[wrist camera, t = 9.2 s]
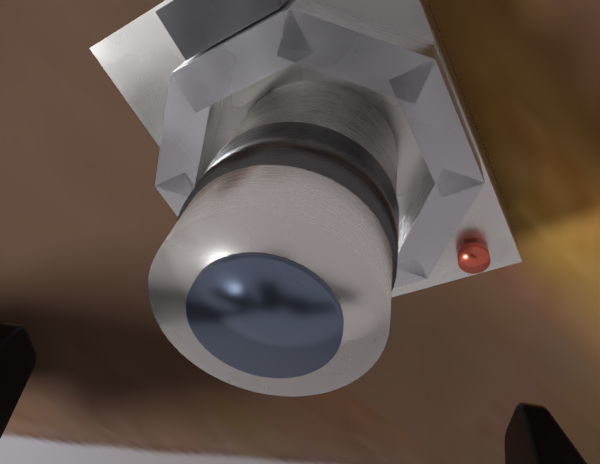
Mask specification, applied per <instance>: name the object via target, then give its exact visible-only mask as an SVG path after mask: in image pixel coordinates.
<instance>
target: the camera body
mask: <svg viewBox="0 0 600 464" xmlns="http://www.w3.org/2000/svg"><path fill="white" fill-rule="evenodd" d="M90 50H91V51H92V53H93V54H94V55H95V57H96V58H97V60H98V61H99V62H100V64H101V65H102V67H103V68H104V69H105V71H106V72H107V74H108V75H109V77H110V78H111V79H112V81H113V82H114V84H115V85H116V86H117V88H118V89H119V91H120V92H121V93H122V95H123V96H124V98H125V99H126V100H127V102H128V103H129V105H130V106H131V107H132V109H133V110H134V112H135V113H136V115H137V116H138V117H139V119H140V120H141V122H142V123H143V124H144V126H145V127H146V129H147V130H148V131H149V133H150V134H151V136H152V137H153V138H154V140H155V141H156V143H157V144H158V145H159V147H160V153H159V160H158V167H157V174H156V182H155V187H156V188H157V190H158V191H159V192H160V194H161V195H162V196H163V198H164V199H165V200H166V202H167V203H168V204H169V206H170V207H171V208H172V210H173V211H174V212H175V214H176V215H177V216H179V213H180V210H181V208H182V206H183V204H184V202H185V201H186V199H187V198H188V196H189V195H190V193H191V192H192V190H193V189H194V187H195V186H196V184H197V183H198V181H199V180H200V178H201V177H202V175H203V174H204V172H205V171H206V169H207V168H208V166H209V165H210V164H211V162H212V161H213V159H214V158H215V156H216V155H217V154H218V152H219V151H220V150H221V149H222V148H223V147H224V146H225V145H226V144H227V143H228V142H230V140H231V139H232V137H233V136H234V134H235V133H236V131H237V130H238V128H239V127H240V125H241V124H242V122H243V121H244V119H245V118H246V116H247V115H248V113H249V112H250V110H251V109H252V108H253V106H254V105H255V104H256V103H257V102H258V101H259V100H260V99H261V98H263V97H264V96H265V95H267V94H268V93H270V92H271V91H273V90H275V89H277V88H279V87H282V86H284V85H287V84H291V83H295V82H300V81H324V82H331V83H335V84H338V85H342V86H344V87H347V88H349V89H351V90H353V91H355V92H357V93H359V94H360V95H362V96H363V97H365V98H366V99H367V100H369V101H370V102H371V103H372V104H373V105H374V106H375V107H376V108H377V109H378V110H379V111H380V112H381V113H382V115H383V116H384V118H385V119H386V120H387V122H388V124H389V126H390V128H391V130H392V132H393V135H394V138H395V141H396V146H397V152H398V169H397V189H396V197H397V201H398V206H399V236H398V263H397V275H396V280H395V284H394V287H393V290H392V293H391V297H395V296H399V295H402V294H406V293H410V292H413V291H417V290H421V289H424V288H428V287H431V286H435V285H439V284H442V283H446V282H450V281H453V280H457V279H461V278H464V277H468V276H472V275H475V274H479V273H482V272H486V271H490V270H493V269H497V268H501V267H504V266H508V265H512V264H515V263H519V262H522V260H521V256H520V252H519V249H518V245H517V241H516V237H515V234H514V230H513V226H512V223H511V219H510V215H509V212H508V209H507V206H506V204H505V201H504V199H503V196H502V193H501V191H500V188H499V186H498V183H497V180H496V178H495V175H494V173H493V170H492V168H491V165H490V162H489V160H488V157H487V155H486V152H485V149H484V147H483V144H482V142H481V139H480V136H479V134H478V131H477V129H476V126H475V124H474V121H473V118H472V116H471V113H470V111H469V108H468V105H467V103H466V100H465V98H464V95H463V92H462V90H461V87H460V85H459V82H458V80H457V77H456V74H455V72H454V69H453V67H452V64H451V61H450V59H449V56H448V54H447V51H446V48H445V46H444V43H443V41H442V38H441V36H440V33H439V30H438V28H437V25H436V23H435V20H434V17H433V15H432V12H431V10H430V7H429V4H428V2H427V0H165V1H164V2H162V3H161V4H159V5H157V6H156V7H154V8H153V9H151V10H150V11H148V12H146V13H145V14H143V15H142V16H140V17H138V18H137V19H135V20H134V21H132V22H130V23H129V24H127V25H126V26H124V27H123V28H121V29H119V30H118V31H116V32H115V33H113V34H111V35H110V36H108V37H107V38H105V39H104V40H102V41H100V42H99V43H97V44H96V45H94V46H92V47H91V48H90Z"/></svg>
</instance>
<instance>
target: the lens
mask: <svg viewBox="0 0 600 464" xmlns="http://www.w3.org/2000/svg"><path fill="white" fill-rule="evenodd" d="M397 169H398V152H397V146H396V141H395V138H394V135H393V132H392V130H391V128H390V126H389V124H388V122H387V120H386V119H385V118H384V116H383V115H382V113H381V112H380V111H379V110H378V109H377V108H376V107H375V106H374V105H373V104H372V103H371V102H370V101H369V100H367V99H366V98H365V97H363V96H362V95H360V94H359V93H357V92H355V91H353V90H351V89H349V88H347V87H344V86H342V85H338V84H335V83H331V82H324V81H300V82H295V83H291V84H287V85H284V86H282V87H279V88H277V89H275V90H273V91H271V92H270V93H268V94H267V95H265V96H264V97H263V98H261V99H260V100H259V101H258V102H257V103H256V104H255V105H254V106H253V108H252V109H251V110H250V112H249V113H248V115H247V116H246V118H245V119H244V121H243V122H242V124H241V125H240V127H239V128H238V130H237V131H236V133H235V134H234V136H233V137H232V139H231V140H230V142H228V143H227V144H226V145H225V146H224V147H223V148H222V149H221V150H220V151H219V152H218V154H217V155H216V156H215V158H214V159H213V161H212V162H211V164H210V165H209V166H208V168H207V169H206V171H205V172H204V174H203V175H202V177H201V178H200V180H199V181H198V183H197V184H196V186H195V187H194V189H193V190H192V192H191V193H190V195H189V196H188V198H187V199H186V201H185V202H184V204H183V206H182V208H181V210H180V213H179V216H178V219H177V223H176V224H175V226H174V227H173V229H172V230H171V232H170V233H169V235H168V237H167V238H166V240H165V241H164V243H163V244H162V246H161V247H160V249H159V250H158V252H157V254H156V256H155V258H154V260H153V262H152V264H151V268H150V272H149V278H148V294H149V301H150V305H151V309H152V311H153V314H154V316H155V319H156V321H157V323H158V325H159V326H160V328H161V330H162V331H163V333H164V334H165V336H166V337H167V338H168V340H169V341H170V342H171V343H172V344H173V345H174V347H175V348H176V349H177V350H178V351H179V352H180V353H181V354H182V355H184V356H185V357H186V358H187V359H188V360H189V361H191V362H192V363H193V364H195V365H196V366H197V367H199V368H200V369H202V370H203V371H205V372H207V373H208V374H210V375H212V376H214V377H216V378H218V379H220V380H222V381H224V382H226V383H229V384H231V385H234V386H236V387H239V388H242V389H246V390H249V391H253V392H258V393H262V394H268V395H276V396H309V395H316V394H321V393H325V392H329V391H333V390H336V389H338V388H341V387H343V386H346V385H348V384H349V383H351V382H353V381H355V380H357V379H358V378H359V377H361V376H362V375H364V374H365V373H366V372H367V371H368V370H369V369H370V368H371V367H372V366H373V365H374V364H375V363H376V361H377V360H378V359H379V357H380V356H381V354H382V352H383V350H384V348H385V346H386V343H387V339H388V336H389V328H390V313H391V293H392V290H393V287H394V284H395V280H396V275H397V263H398V236H399V206H398V201H397V197H396V189H397Z"/></svg>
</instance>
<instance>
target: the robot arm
mask: <svg viewBox="0 0 600 464" xmlns="http://www.w3.org/2000/svg"><path fill="white" fill-rule="evenodd" d="M35 362H36V353H35V350H34V347H33V345H32V342H31V340H30V337H29V335H28V332H27V330H26V328H25V327H24V326H22V325H19V324H12V323H0V438H1V436H2V434H3V432H4V430H5V428H6V426H7V424H8V422H9V420H10V417H11V415H12V413H13V411H14V409H15V407H16V405H17V403H18V400H19V398H20V396H21V394H22V392H23V390H24V388H25V385H26V383H27V381H28V379H29V377H30V375H31V373H32V371H33V368H34V366H35ZM505 464H587V463H586V462H585V460H584V459H583V458H582V456H581V455H580V453H579V452H578V451H577V449H576V448H575V447H574V445H573V444H572V442H571V441H570V440H569V438H568V437H567V435H566V434H565V433H564V431H563V430H562V429H561V427H560V426H559V424H558V423H557V422H556V420H555V419H554V418H553V416H552V415H551V413H550V412H549V411H548V410H547V409H546V408H545V407H543V406H541V405H535V404H529V403H519V404H518V405H517V407H516V409H515V411H514V413H513V416H512V418H511V421H510V423H509V425H508V428H507V430H506V434H505Z"/></svg>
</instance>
